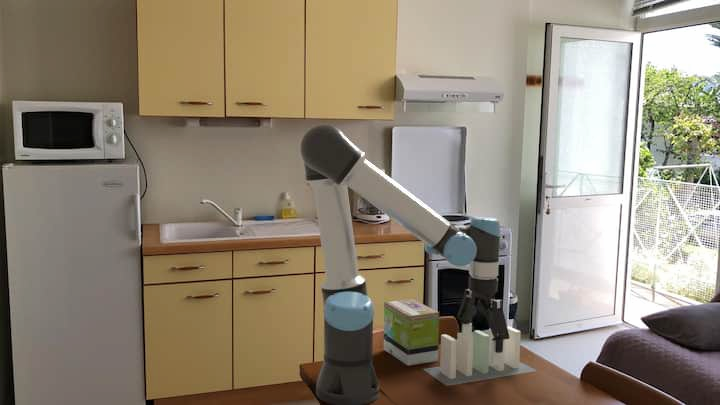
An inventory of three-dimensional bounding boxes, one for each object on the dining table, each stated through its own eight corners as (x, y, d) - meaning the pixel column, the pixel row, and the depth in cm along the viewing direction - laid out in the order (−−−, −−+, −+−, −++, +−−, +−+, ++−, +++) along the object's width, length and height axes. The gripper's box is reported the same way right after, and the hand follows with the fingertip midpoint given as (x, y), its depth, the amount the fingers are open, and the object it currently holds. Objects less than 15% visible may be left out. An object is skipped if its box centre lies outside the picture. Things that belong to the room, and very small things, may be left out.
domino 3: (498, 371, 158) (500, 334, 157) (487, 364, 162) (489, 328, 162) (503, 370, 159) (505, 333, 158) (492, 363, 163) (494, 328, 162)
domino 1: (450, 378, 152) (451, 340, 151) (440, 372, 157) (441, 334, 156) (455, 378, 153) (456, 340, 152) (445, 371, 157) (446, 334, 156)
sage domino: (483, 373, 156) (484, 336, 155) (472, 367, 161) (473, 330, 160) (488, 372, 157) (489, 335, 156) (477, 366, 161) (478, 330, 160)
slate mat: (446, 388, 148) (446, 385, 148) (422, 371, 159) (422, 368, 158) (537, 373, 159) (537, 370, 159) (509, 357, 170) (509, 355, 170)
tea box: (382, 350, 174) (383, 301, 173) (412, 346, 178) (413, 297, 177) (407, 368, 160) (408, 314, 159) (439, 363, 165) (440, 310, 163)
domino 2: (466, 376, 154) (468, 338, 153) (456, 369, 159) (457, 332, 158) (472, 375, 155) (473, 337, 154) (461, 368, 159) (462, 332, 158)
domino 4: (514, 368, 160) (515, 332, 159) (502, 362, 164) (504, 326, 163) (519, 367, 161) (520, 331, 160) (507, 361, 165) (509, 326, 164)
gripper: (526, 285, 146) (522, 369, 148) (468, 266, 169) (466, 339, 171) (500, 288, 143) (497, 373, 145) (446, 267, 166) (443, 342, 168)
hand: (480, 355), depth 158 cm, fingers open, 13 cm apart
